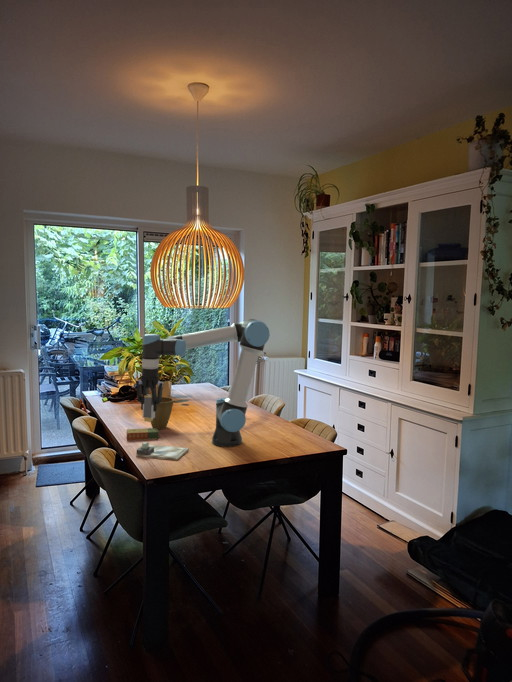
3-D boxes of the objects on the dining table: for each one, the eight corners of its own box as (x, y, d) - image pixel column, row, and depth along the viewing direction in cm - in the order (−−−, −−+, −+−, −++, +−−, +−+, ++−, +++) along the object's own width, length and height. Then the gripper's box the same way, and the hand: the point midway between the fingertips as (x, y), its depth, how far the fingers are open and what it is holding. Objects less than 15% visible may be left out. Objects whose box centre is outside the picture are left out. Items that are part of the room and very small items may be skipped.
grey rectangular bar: (153, 420, 233) (154, 395, 232) (150, 422, 229) (151, 396, 228) (146, 419, 234) (147, 394, 233) (143, 421, 230) (144, 395, 229)
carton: (126, 436, 261) (126, 428, 261) (157, 434, 265) (157, 427, 265) (127, 441, 253) (127, 433, 253) (159, 439, 257) (159, 431, 257)
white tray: (188, 450, 241) (188, 444, 240) (177, 460, 226) (177, 454, 226) (149, 446, 245) (149, 440, 244) (136, 456, 230) (136, 449, 230)
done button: (149, 448, 234) (149, 442, 233) (147, 450, 231) (147, 444, 230) (143, 448, 234) (143, 441, 234) (140, 450, 231) (140, 443, 231)
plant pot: (156, 433, 267) (156, 403, 266) (140, 427, 277) (140, 399, 276) (178, 427, 278) (179, 399, 276) (162, 422, 288) (162, 395, 286)
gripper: (170, 368, 231) (168, 417, 233) (137, 365, 235) (135, 413, 237) (164, 370, 224) (162, 421, 226) (130, 367, 227) (128, 417, 230)
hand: (148, 417), depth 231 cm, fingers closed on grey rectangular bar, 3 cm apart
